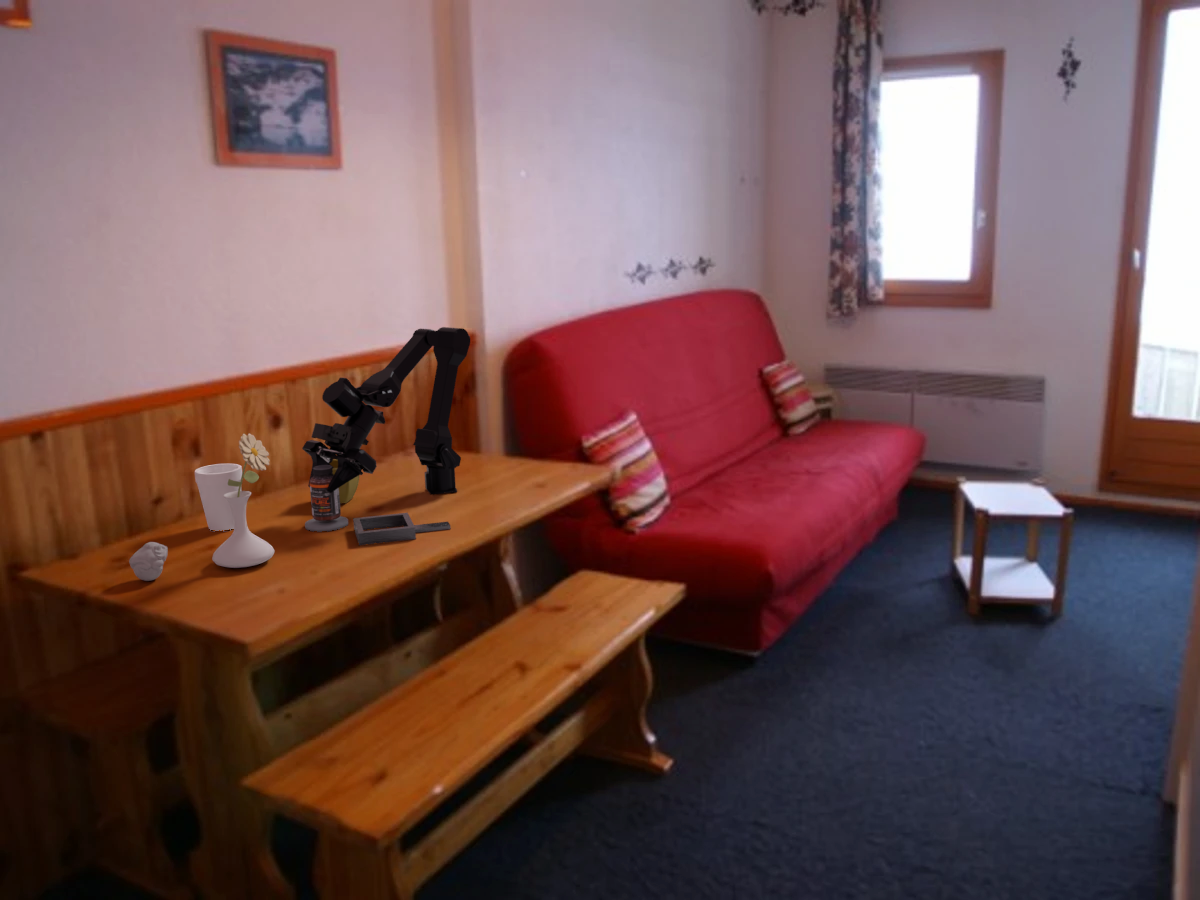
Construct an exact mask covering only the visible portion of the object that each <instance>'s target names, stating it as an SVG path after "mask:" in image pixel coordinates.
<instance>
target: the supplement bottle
mask: <svg viewBox="0 0 1200 900" xmlns="http://www.w3.org/2000/svg"><path fill="white" fill-rule="evenodd" d="M332 472H333V470H332V466H330V465H319V466H315V467H314V468H313V474H314V476H313V477H312V478H311V479H310V478H309V480H310V487H309V488H310V490H309V491H310V492H309V493H310V501H311V502H310V503H311V514H312V519H315V520H318V521H330V520H334V519H337V518H339V517H340V516H341V515H342V513H341V503H340V498H339V488H338V489H336V490H335V491H333V492H332V493H329V492H328V491H327V488H328V486H329V483H330V481H331V480H332V478H333V476H334V474H333V473H332Z"/></svg>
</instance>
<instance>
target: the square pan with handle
mask: <svg viewBox="0 0 1200 900" xmlns="http://www.w3.org/2000/svg"><path fill="white" fill-rule="evenodd" d="M352 519H353V529H354V530H355V531H354V532H355V533H354V534H355V537H356V540H357V544H358V543H359V544H358V546H367V545H366V544H368V545H375V544H374V543H377V544H383V542H385V543H391V542H392V543H395V542H400V541H401V542H403V541H410V540H416V539H417V535H416V534H417V533H419V534H420V533H427V532H436V531H445V530H451V524H450V522H449V521H441V522H430V523H422V524H414V522H413V521H412V519H411V517H410V515H409V513H408V512H399V513H393V514H383V515H382V514H381V515H374V516H373V515H372V516H363V517H353V518H352ZM387 527H389V528H387ZM374 528H380V529H374ZM367 529H370V530H367Z"/></svg>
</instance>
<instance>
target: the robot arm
mask: <svg viewBox="0 0 1200 900" xmlns="http://www.w3.org/2000/svg"><path fill="white" fill-rule="evenodd" d="M470 346H471V336H470V335H469V332H468V331H467V330H466V329H464V328H462V327H461V328H459V327H446V326H442V327H439V328H438V329H437V330H434V329H431V328H417V329H416V330H414V332H413V334H412V337H411V338H410V339H409V340H408V341H407V342H406V344H405V345H404V346H403V347H402V348H401V349H400V350H399V352H397V354H396V355H395V356H394V357H393V358H392V359H391V360H390V361H389V363H388V364H387V365H386V366H385V368H383V369H382V370H380V371H378V372H375V373H373V374H372V375H371V376H370V377H368V378H366V380H364V381H363V382H362V384H361V385H360V386H357V387H355V386H354V384H352V383H351V381H350V380H349V379H348V378H347V377H339V378H338V380H337V381H334V382H333V383H331V384H330V385H329V386H328V387H326V388H325V389H324V391H323V393H322V398H321V399H322V401H323V402H324V403H325V404H326V405H328V407H330V408H331V409H332V410H333V411H334V412H335V413H336V414H338V415H339V417H342V418H346V419H345V421H344V423H337V422H335V423H334V424H333V425H329V424H322V423H316V422H315V423H314V426H313V430H312V434H311V439H309V440H306V441H305V443H304V444H303V445H302V450H303V451H304V452H305V453H306V454H308V455H309V456H310V457H311V461H312V466H311V471H310V476H309V479H308V484H307V486H308V487H309V488H310V479H311V478H312V477H313V476H314V474H313V468H314V467H315V466H319V465H330V463H331V462H332V461H333V460H338V468H337V470H336V472H335V474H334V476H333V478H332V480H331V481H330V483H329V486H328V488H327V491H328V492H329V493H332V492H333V491H335V490H336V489H338V488H339V487H341V486H342V485H344V484H345V483H347V482H348V481H350V480H352V479H354V478H355V477H357V476H359V477H360V476H362V475H363V474H364V473H367V474H372V475H373V473H374V471H376V468H377V460H376V459H375V458H373V456H372V455H370V454H369V453H368V452H367V451H366V450H364V449H361V447H362V446H367V445H368V444H369V443H370V441H369V440H368V439H367V438H368V436H369V435H370V433H371V431H372V429H373V428H374V426H375V424H376V423H377V424H381V425H385V424H386V419H385V416H384V411H381V410H377V409H375V407H380V408H390V407H391V406H393V404H394V403H395V401H396V400H397V398H398V397H399V395H400V394H401V390H402V384H403V382H404V381H405V379H406V378H407V377H408V376H409V375H410V373H412V371H413V370H414V368H415V367H416V366H417V365H418V364H419V363H420V362H421V360H422V359H423V358H424V357H425V356H426V354H427V353H429V351H430V350H431V348H433V349H432V350H433V354H434V356H435V359H436V364H437V365H436V369H435V375H434V381H433V386H432V387H433V388H432V391H431V392H432V393H431V398H430V405H429V409H428V415H427V421H426V423H425V425H424V426H423V427H422V428H417V429H416V430H415V431H416V432H415V439H414V442H413V444H412V445H413V446H414V453H415V454H416V456H417V458H418V459H419V462H420V465H421V466H426V471H424V485H425V486H424V487H425V489H426V491H427V492H428V493H429V495H441V494H442V495H443V494H451V493H457V492H458V489H457V487H456V470H455V469H456V468H457V467H460V466H461V460H462V457H461V456H460V455H459V454H458V453H457V452H456V451H455V449H453V448H452V447H453V445H452V444H453V437H452V433H451V431H450V428H449V423H450V422H449V421H450V415H451V411H452V404H453V399H454V393H455V388H456V383H457V382H456V381H457V376H458V375H457V374H458V370H459V366H460V365H461V364H462V363H463V361H464V360H465V358H466V357H467V355H468V353H469V349H470ZM373 406H374V407H373ZM313 439H319V440H313ZM320 440H322V441H324V442H322V441H320ZM330 466H331V465H330ZM333 468H334V467H333V466H332V469H333Z"/></svg>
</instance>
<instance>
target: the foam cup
mask: <svg viewBox="0 0 1200 900" xmlns="http://www.w3.org/2000/svg"><path fill="white" fill-rule="evenodd" d="M242 473H243V468H242V465H240V464H237V463H216V464H210V465H205V466H200V467H198V468H196V469H195V470H194V479H195V480H194V481H195V483H196V485H197V488H198V492H199V493H198V494H199V496H200V499H201V504H202V507H203V511H204V515H205V520H206V523H207V526H208V527H207V528H208V530H209V529H210V530H209V531H211V530H215V531H219V530H220V531H222V530H223V532H225V531H224V530H229V529H230V531H232V530H231V529H234V517H233V513H232V509H231V506H230V504H229V502H228V501H227V500H226V499H225V498H224V495H225V494H226V493H229V492H234V491H238V489H239V486H238V487H236V486H229V485H228V480H229V479H231V480H233V481H237V482H240V481H241V477H242ZM240 491H242V488H241V489H240ZM215 531H214V532H215Z"/></svg>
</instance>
